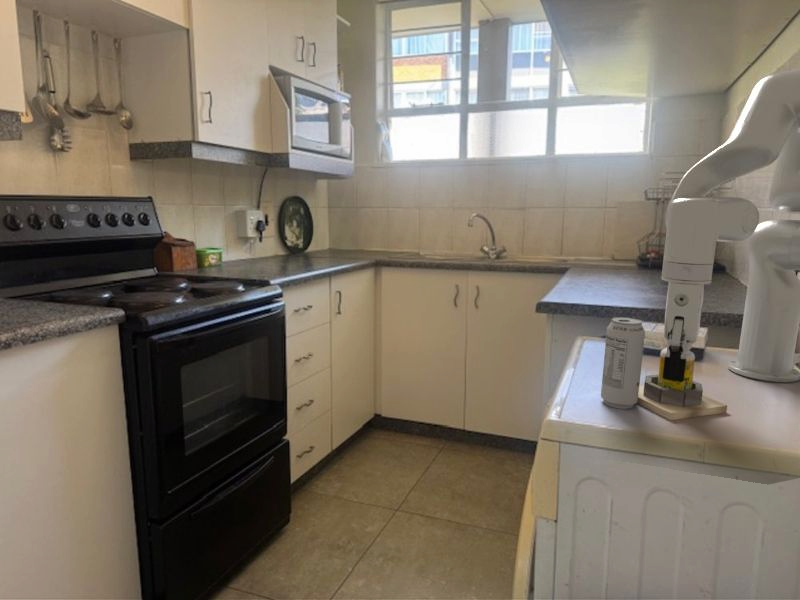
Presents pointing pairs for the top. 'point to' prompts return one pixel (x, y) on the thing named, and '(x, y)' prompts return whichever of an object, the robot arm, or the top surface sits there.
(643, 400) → the collar
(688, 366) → the supplement bottle
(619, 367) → the energy drink can
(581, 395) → the top surface
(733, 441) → the top surface
